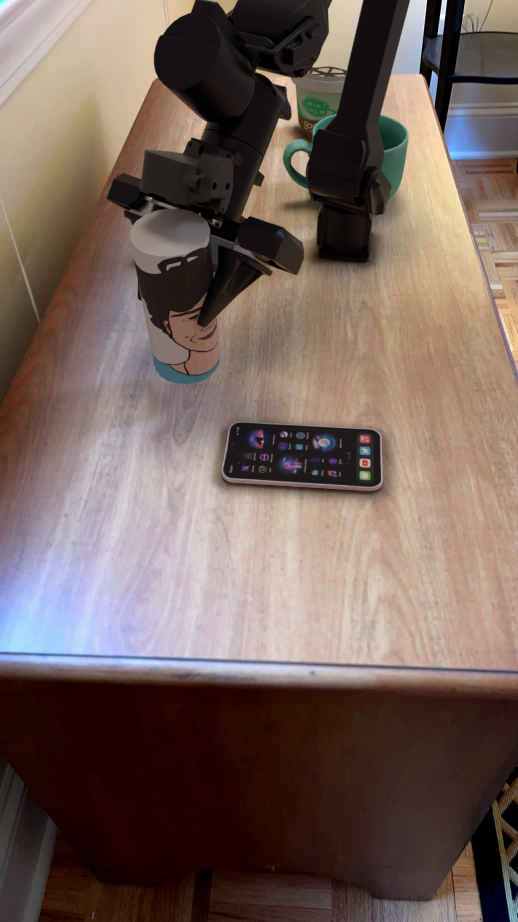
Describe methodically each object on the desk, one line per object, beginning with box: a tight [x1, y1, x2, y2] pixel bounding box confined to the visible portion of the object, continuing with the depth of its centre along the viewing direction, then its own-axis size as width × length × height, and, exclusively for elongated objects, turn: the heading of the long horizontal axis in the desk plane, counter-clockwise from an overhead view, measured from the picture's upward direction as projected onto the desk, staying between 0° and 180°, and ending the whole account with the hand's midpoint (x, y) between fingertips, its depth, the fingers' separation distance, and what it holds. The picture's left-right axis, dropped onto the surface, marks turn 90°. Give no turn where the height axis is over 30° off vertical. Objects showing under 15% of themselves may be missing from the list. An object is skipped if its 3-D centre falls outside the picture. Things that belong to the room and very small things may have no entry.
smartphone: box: [221, 421, 384, 492], centre depth 66 cm, size 8×1×15 cm
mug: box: [282, 114, 409, 201], centre depth 94 cm, size 17×12×10 cm
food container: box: [290, 65, 347, 142], centre depth 107 cm, size 12×6×10 cm, turn 73°
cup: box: [128, 209, 221, 385], centre depth 64 cm, size 7×7×15 cm
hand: (170, 313), depth 63 cm, fingers closed on cup, 7 cm apart
